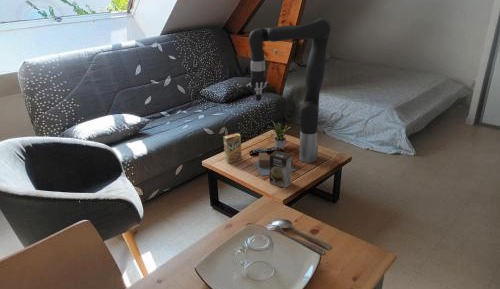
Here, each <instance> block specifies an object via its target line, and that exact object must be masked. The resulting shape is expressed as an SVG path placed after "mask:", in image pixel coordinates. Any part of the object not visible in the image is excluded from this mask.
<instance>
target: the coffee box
mask: <svg viewBox="0 0 500 289" xmlns="http://www.w3.org/2000/svg"><path fill="white" fill-rule="evenodd" d="M269 156H270V175H269V184H271V185H275V186H278V187H281V188H284V189H286V188H287V187H288V186H289V185H290V184H291V179H292V178H291V176H292V175H291V174H292V173H291V172H292V171H291V156H292V157H293V155H292V154H291V153H288V152H283V151H281V150H274V151H273V152H272V153H271V154H269Z"/></svg>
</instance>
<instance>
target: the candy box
mask: <svg viewBox="0 0 500 289" xmlns="http://www.w3.org/2000/svg"><path fill="white" fill-rule="evenodd" d="M223 151H224V159H225V160H224V161H226V162H227V163H228V164H230V163H233V162H237V161H241V160H243V158H242V157H243V155H242V138H241V134H240V133H239V132H236V133H230V134H227V135H223Z"/></svg>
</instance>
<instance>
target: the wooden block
mask: <svg viewBox="0 0 500 289" xmlns="http://www.w3.org/2000/svg"><path fill="white" fill-rule="evenodd" d="M293 160H294V159H293V155H292V156H291V167H292V166H293ZM258 161H259V167H270V154H268V153H267V152H259V153H258Z"/></svg>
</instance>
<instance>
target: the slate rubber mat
mask: <svg viewBox="0 0 500 289" xmlns="http://www.w3.org/2000/svg"><path fill="white" fill-rule="evenodd" d="M253 164H254V166H255V167H256V169H257V171H258V173H259V174H260V176H261V177H266V176H270V167H259V160H255V161H253ZM291 172H296V169H295V167H294V165H292V167H291Z"/></svg>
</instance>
